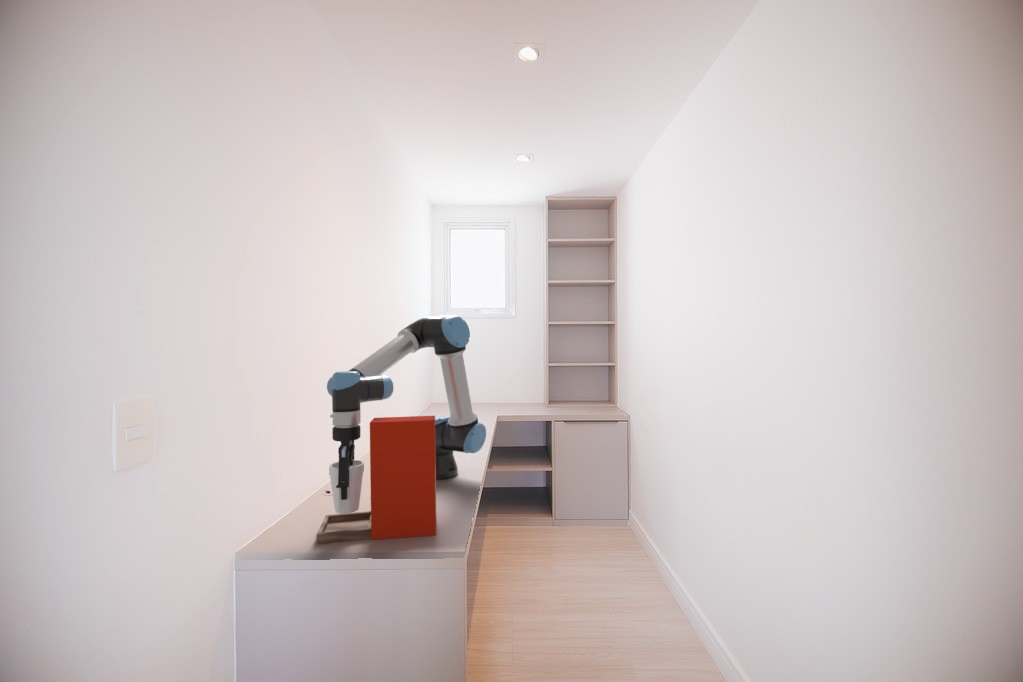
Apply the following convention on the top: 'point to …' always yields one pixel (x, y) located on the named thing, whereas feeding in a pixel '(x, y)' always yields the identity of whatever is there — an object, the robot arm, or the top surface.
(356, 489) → the foam cup
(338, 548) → the top surface
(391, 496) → the file binder
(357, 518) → the square wooden tray
